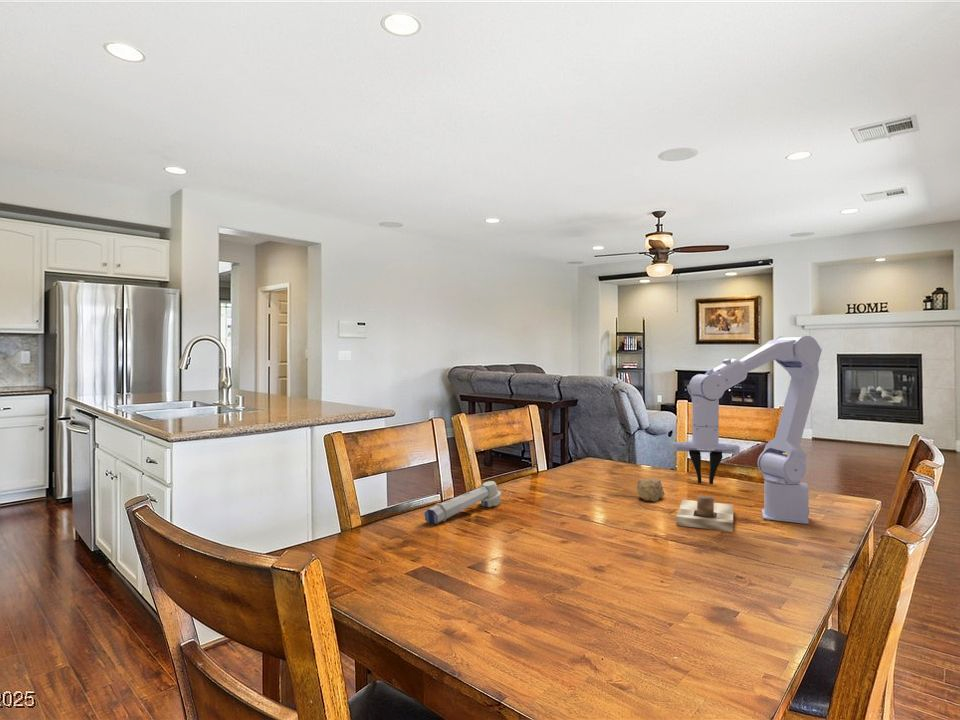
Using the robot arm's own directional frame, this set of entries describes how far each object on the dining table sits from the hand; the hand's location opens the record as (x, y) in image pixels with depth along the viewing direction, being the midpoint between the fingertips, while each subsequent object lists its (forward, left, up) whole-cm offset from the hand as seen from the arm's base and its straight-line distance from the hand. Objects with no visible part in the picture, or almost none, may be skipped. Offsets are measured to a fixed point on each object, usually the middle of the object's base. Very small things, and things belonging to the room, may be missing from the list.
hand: (705, 483), depth 131 cm
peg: (0, 0, -9) cm, 9 cm away
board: (0, -4, -9) cm, 10 cm away
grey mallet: (+55, +16, -10) cm, 58 cm away
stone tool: (+15, -18, -10) cm, 26 cm away
